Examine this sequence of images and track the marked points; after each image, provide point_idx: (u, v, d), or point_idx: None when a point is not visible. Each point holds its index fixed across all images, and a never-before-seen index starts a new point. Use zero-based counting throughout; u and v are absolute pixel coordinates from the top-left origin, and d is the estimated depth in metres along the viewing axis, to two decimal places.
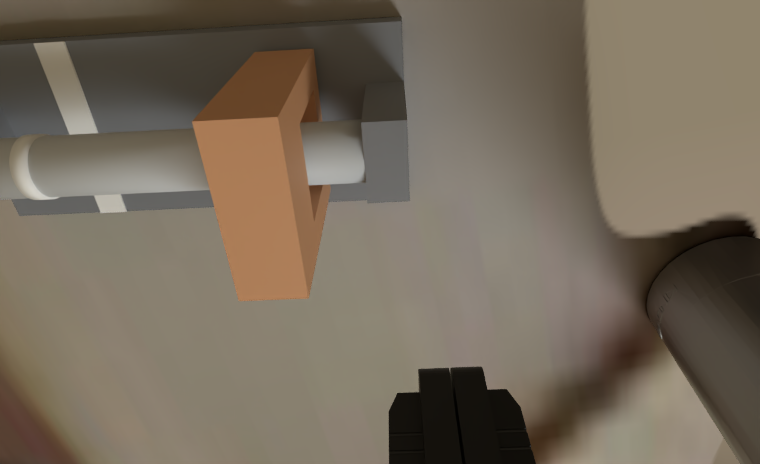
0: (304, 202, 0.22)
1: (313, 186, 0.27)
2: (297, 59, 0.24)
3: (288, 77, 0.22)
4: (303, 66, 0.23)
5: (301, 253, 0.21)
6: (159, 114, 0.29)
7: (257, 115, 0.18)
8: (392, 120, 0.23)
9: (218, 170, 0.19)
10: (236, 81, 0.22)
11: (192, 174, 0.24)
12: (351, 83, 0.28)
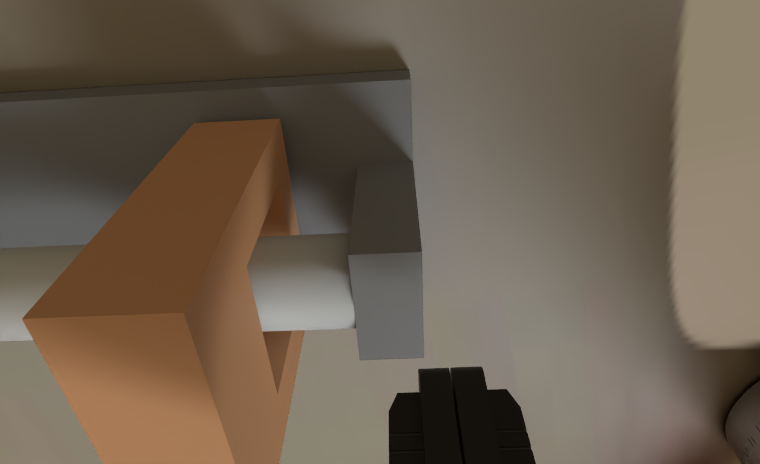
0: (255, 391, 0.14)
1: None
2: (252, 143, 0.16)
3: (230, 186, 0.14)
4: (258, 160, 0.15)
5: None
6: (64, 204, 0.20)
7: (148, 303, 0.10)
8: (398, 251, 0.14)
9: (85, 389, 0.10)
10: (144, 195, 0.13)
11: None
12: (337, 164, 0.19)
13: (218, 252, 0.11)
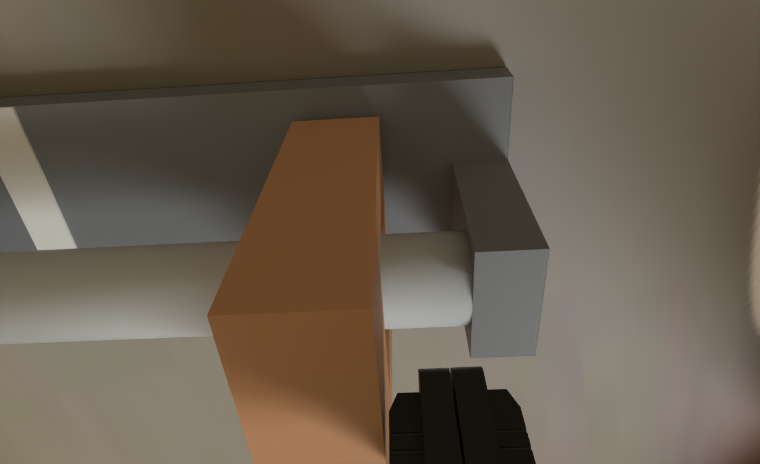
0: (386, 388, 0.14)
1: None
2: (362, 140, 0.16)
3: (360, 183, 0.14)
4: (376, 157, 0.15)
5: None
6: (154, 203, 0.20)
7: (331, 300, 0.10)
8: (525, 248, 0.14)
9: (254, 386, 0.10)
10: (275, 192, 0.13)
11: (203, 321, 0.16)
12: (431, 162, 0.19)
13: (374, 249, 0.11)
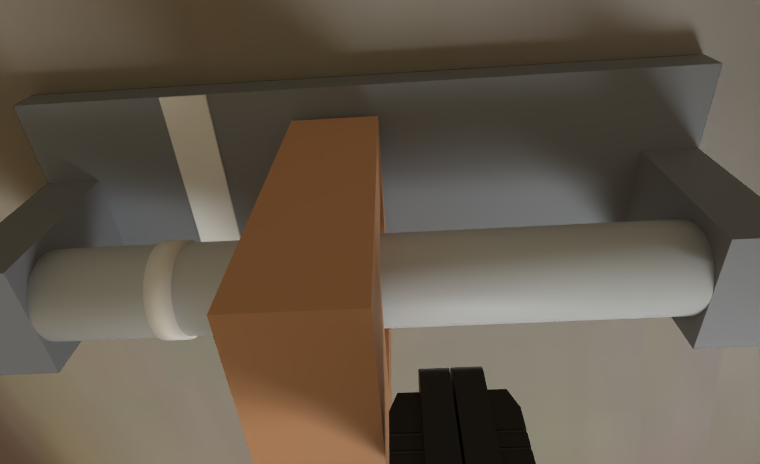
0: (385, 388, 0.14)
1: None
2: (361, 140, 0.16)
3: (359, 183, 0.14)
4: (375, 157, 0.15)
5: None
6: None
7: (330, 299, 0.10)
8: None
9: (254, 386, 0.10)
10: (274, 192, 0.13)
11: (431, 312, 0.15)
12: (620, 151, 0.19)
13: (374, 248, 0.11)
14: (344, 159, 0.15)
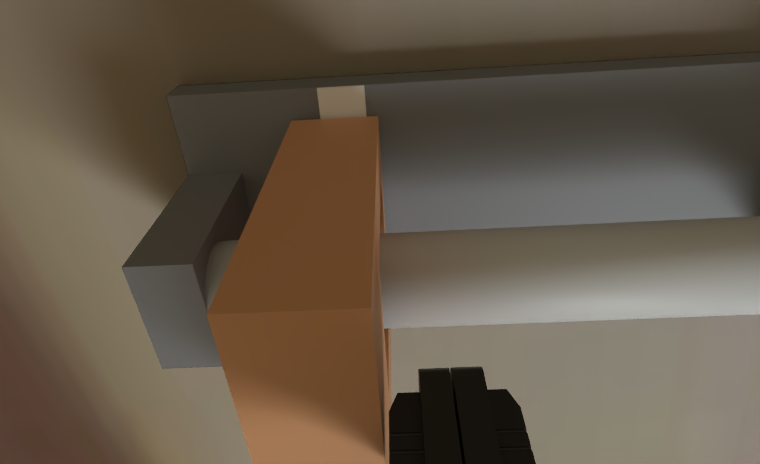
0: (385, 388, 0.14)
1: None
2: (361, 140, 0.16)
3: (359, 183, 0.14)
4: (375, 157, 0.15)
5: None
6: (472, 187, 0.20)
7: (330, 299, 0.10)
8: None
9: (253, 385, 0.10)
10: (274, 192, 0.13)
11: (618, 304, 0.15)
12: None
13: (374, 248, 0.11)
14: (344, 159, 0.15)
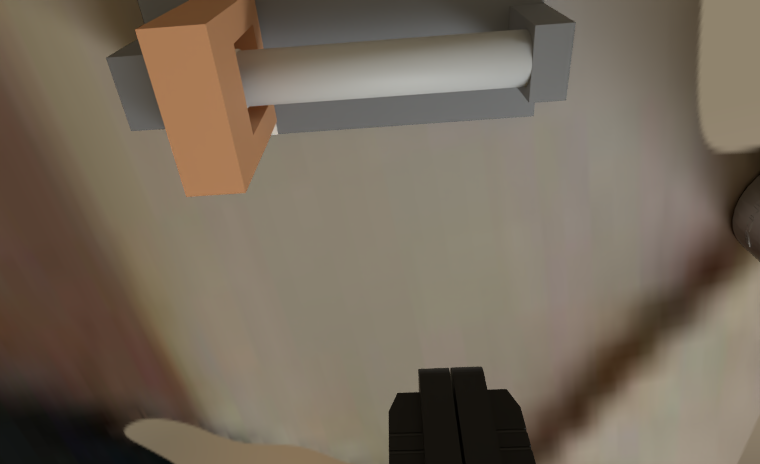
0: (239, 111, 0.26)
1: (257, 112, 0.31)
2: None
3: (224, 4, 0.26)
4: None
5: (236, 150, 0.25)
6: (321, 38, 0.32)
7: (189, 23, 0.22)
8: (562, 22, 0.26)
9: (160, 73, 0.23)
10: (179, 9, 0.26)
11: (379, 78, 0.28)
12: (497, 5, 0.31)
13: (219, 18, 0.24)
14: (222, 0, 0.27)
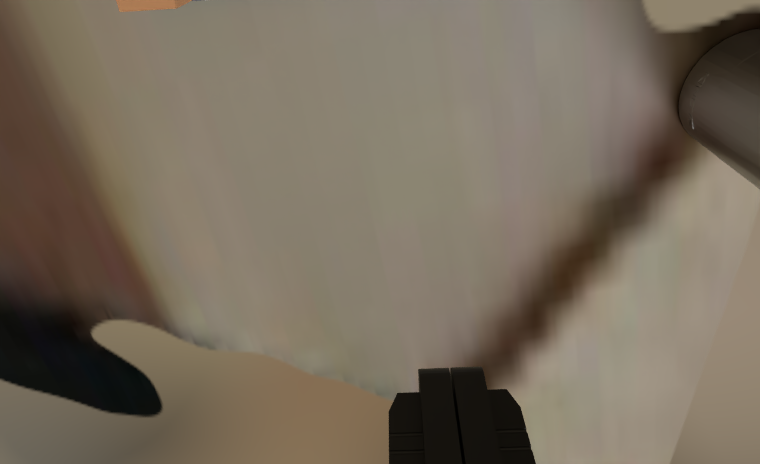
0: None
1: None
2: None
3: None
4: None
5: None
6: None
7: None
8: None
9: None
10: None
11: None
12: None
13: None
14: None
